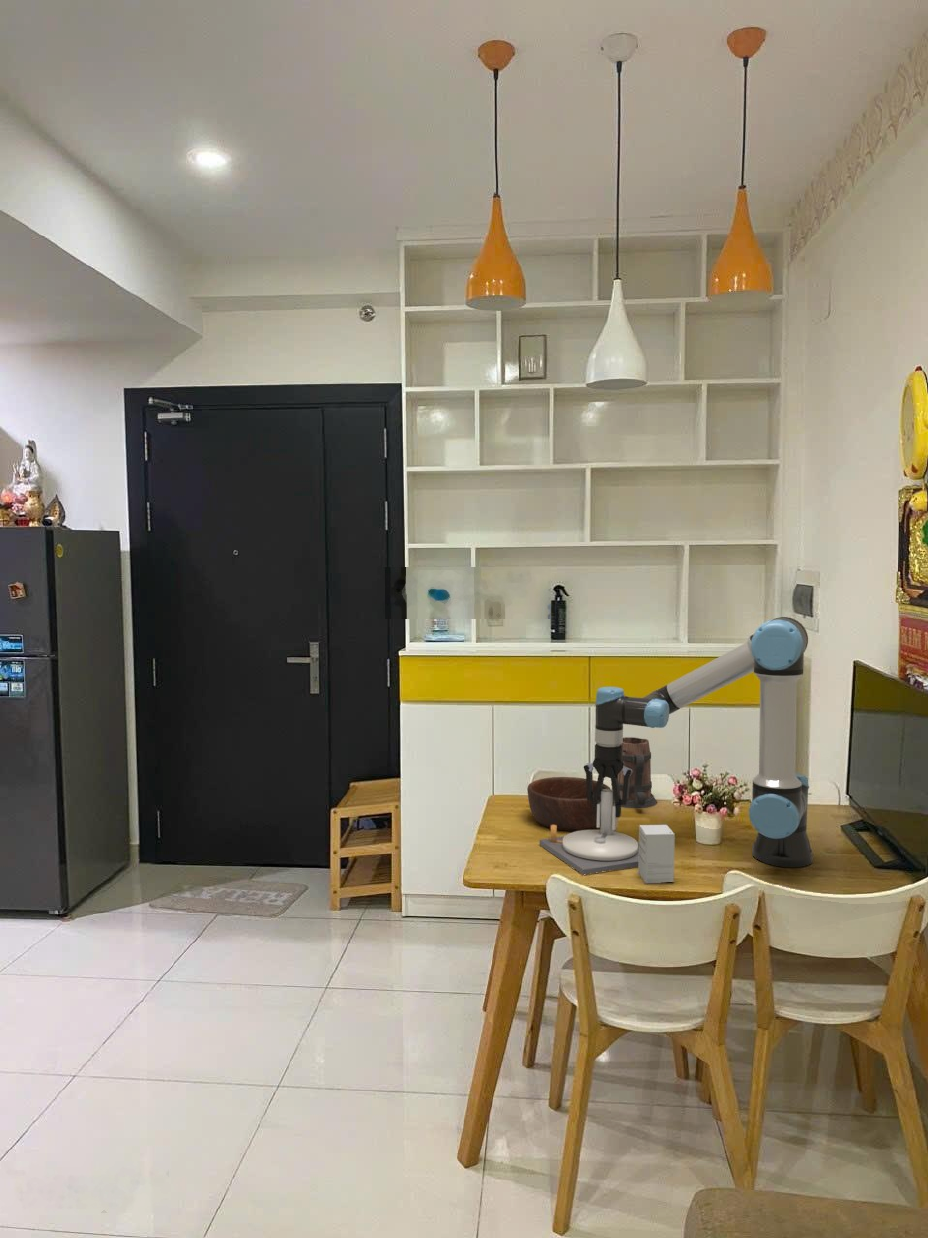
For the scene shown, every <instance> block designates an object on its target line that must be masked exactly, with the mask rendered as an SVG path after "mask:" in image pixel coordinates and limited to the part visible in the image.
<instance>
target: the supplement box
mask: <svg viewBox="0 0 928 1238" xmlns="http://www.w3.org/2000/svg"><path fill="white" fill-rule="evenodd" d="M675 842H676V834H675V833H674V832H673V830H672V829H671V828H670V827H669V826H668V824H639V826H638V843H639V861H638V867H637V868H638V869H637V872H638V874H639V876H640V877H641V880H642V881H643V882H644V884H662V883H661V882H674V881H675V878H674V877H675V876H674V875H675V847H676V846H675V844H676V843H675Z"/></svg>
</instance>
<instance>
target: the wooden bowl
mask: <svg viewBox="0 0 928 1238" xmlns="http://www.w3.org/2000/svg"><path fill="white" fill-rule="evenodd" d="M597 781H598V780H594V779H593V796H594V795H595V790H596V786H597ZM602 789H611V787H610V786H608V785H607V784H606V783H603V786H602ZM527 797H528V805H529V809H530V812H531V814H532V816H533V818H534V820H535V822H537V823H538V824H540V825H541V826H543V827H545V828H549V829H551V825H557V830H558V831H569V832H570V831H572V832H576V831H581V830H593V829H595V828H597V815H595V814H594V813H593V806H594V804H593V802H592V801H588V800H587V788H586V778H582V777H576V776H575V777H574V776H573V777H572V776H555V777H554V776H553V777H546V778H539V779H536V780H534V781H532V782H531V783H529V784H528V786H527ZM599 802H601V795H600V800H599Z"/></svg>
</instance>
